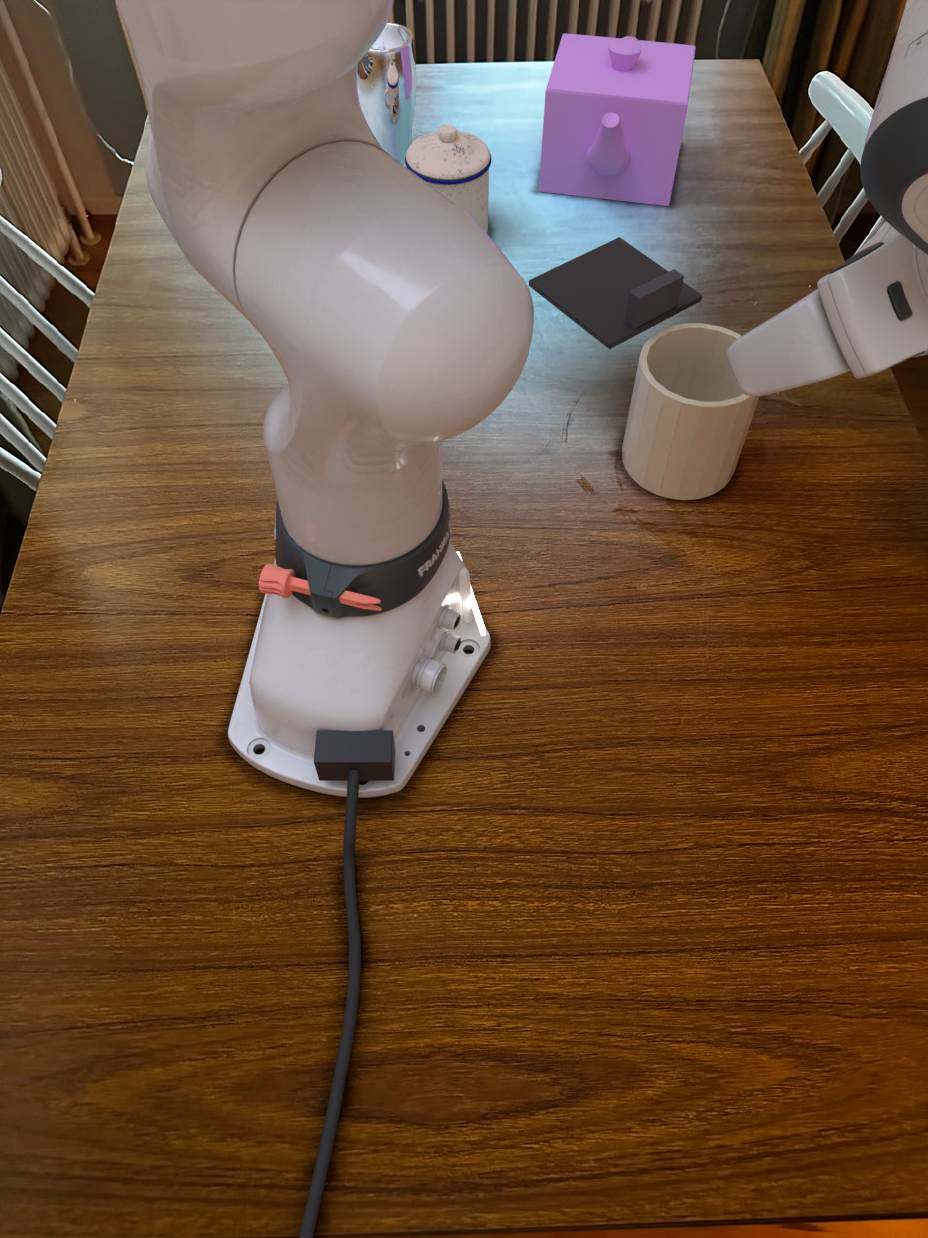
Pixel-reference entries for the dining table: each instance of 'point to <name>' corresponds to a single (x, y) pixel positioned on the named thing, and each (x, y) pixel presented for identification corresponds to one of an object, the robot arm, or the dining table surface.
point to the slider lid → (615, 292)
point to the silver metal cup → (389, 89)
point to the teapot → (615, 118)
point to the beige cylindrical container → (686, 413)
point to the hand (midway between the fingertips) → (771, 344)
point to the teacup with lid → (454, 168)
